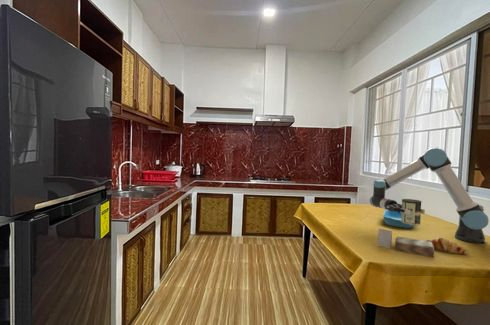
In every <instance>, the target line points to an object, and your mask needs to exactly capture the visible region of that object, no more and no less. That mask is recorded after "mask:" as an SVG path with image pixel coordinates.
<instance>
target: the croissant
mask: <svg viewBox="0 0 490 325" xmlns="http://www.w3.org/2000/svg"><path fill="white" fill-rule="evenodd" d="M426 241H429V242H432V244H433V247H434V250H436V251H440V252H444V253H451V254H459V255H460V254H462V255H468V254H470V250H468V249H466V248H465V247H463V246H461V245H459V244H458V243H457V242H453V241H449V240H448V239H447V238H443V237H439V238H438V239H436V238H435V239H432V240H429V239H427V240H426Z"/></svg>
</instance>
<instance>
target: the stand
mask: <svg viewBox="0 0 490 325" xmlns="http://www.w3.org/2000/svg"><path fill="white" fill-rule="evenodd" d="M394 240H395V243H394V244H395V245H394V250H395V251H397V252H403V253H408V254H414V255H419V256H425V257H430V258H434V257H435V249H434V247H433V244H432V242H429V241H427V240H421V239H415V238H409V237H402V236H396V237H395V239H394Z"/></svg>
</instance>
